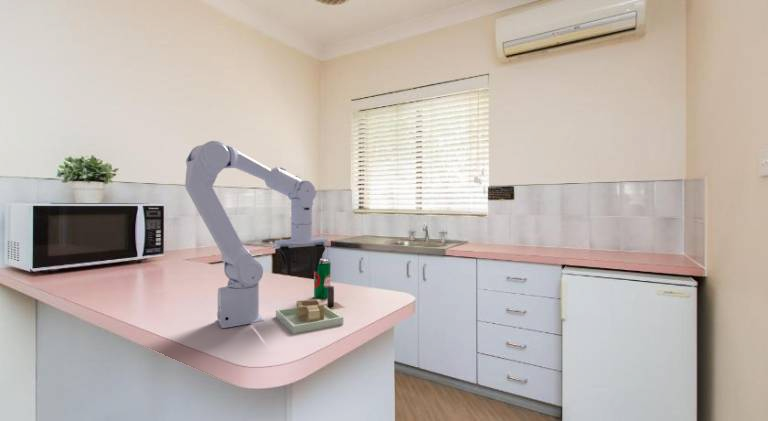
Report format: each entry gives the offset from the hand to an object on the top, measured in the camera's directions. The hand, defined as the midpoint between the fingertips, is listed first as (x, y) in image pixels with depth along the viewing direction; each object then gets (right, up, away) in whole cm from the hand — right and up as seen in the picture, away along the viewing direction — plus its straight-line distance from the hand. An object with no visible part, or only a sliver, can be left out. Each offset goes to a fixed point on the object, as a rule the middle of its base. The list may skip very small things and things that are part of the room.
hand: (301, 272), depth 100 cm
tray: (+4, -10, -12) cm, 16 cm away
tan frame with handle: (+5, -10, -11) cm, 16 cm away
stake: (+8, -10, 0) cm, 13 cm away
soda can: (+4, -10, +11) cm, 15 cm away
